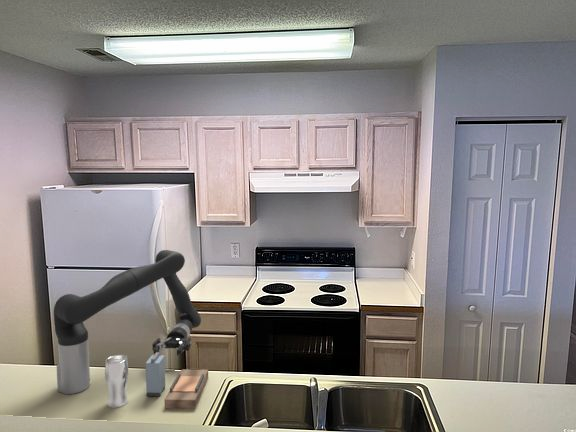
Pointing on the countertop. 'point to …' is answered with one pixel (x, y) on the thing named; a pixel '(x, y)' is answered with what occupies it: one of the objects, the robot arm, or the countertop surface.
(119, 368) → the beer glass
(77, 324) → the robot arm
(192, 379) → the dock
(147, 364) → the blue rectangular block
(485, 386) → the countertop surface
